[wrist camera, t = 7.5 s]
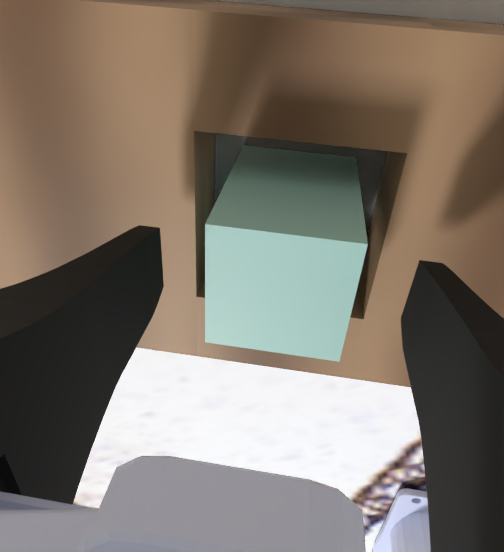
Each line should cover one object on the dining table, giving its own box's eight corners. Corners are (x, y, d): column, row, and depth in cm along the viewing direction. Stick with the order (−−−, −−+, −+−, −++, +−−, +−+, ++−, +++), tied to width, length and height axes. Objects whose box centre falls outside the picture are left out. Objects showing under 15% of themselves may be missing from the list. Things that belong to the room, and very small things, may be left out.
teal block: (356, 157, 16) (367, 244, 11) (337, 254, 18) (339, 362, 13) (243, 145, 16) (205, 224, 11) (238, 241, 18) (205, 342, 14)
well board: (714, 41, 13) (807, 60, 10) (533, 353, 19) (562, 409, 17) (-33, -19, 14) (-107, -15, 12) (45, 286, 21) (8, 328, 19)
